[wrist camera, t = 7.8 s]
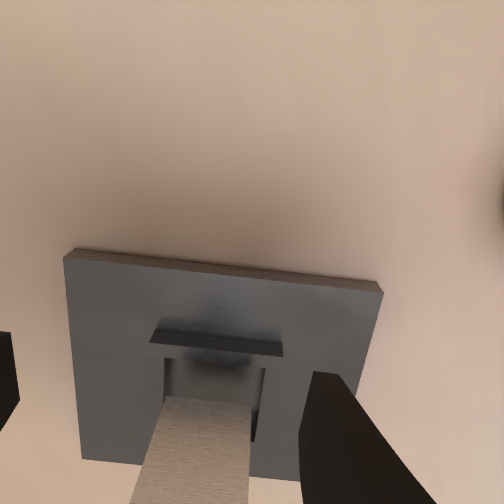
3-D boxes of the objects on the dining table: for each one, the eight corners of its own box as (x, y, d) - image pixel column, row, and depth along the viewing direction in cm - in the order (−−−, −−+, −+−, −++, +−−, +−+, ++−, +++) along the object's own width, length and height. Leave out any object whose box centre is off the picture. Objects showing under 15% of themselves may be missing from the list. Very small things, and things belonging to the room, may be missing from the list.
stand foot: (90, 442, 24) (71, 479, 21) (75, 248, 19) (47, 268, 16) (327, 467, 24) (334, 506, 22) (376, 282, 19) (393, 306, 16)
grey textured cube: (164, 463, 18) (130, 584, 14) (166, 395, 17) (128, 506, 12) (242, 471, 18) (235, 595, 14) (251, 404, 17) (247, 518, 12)
